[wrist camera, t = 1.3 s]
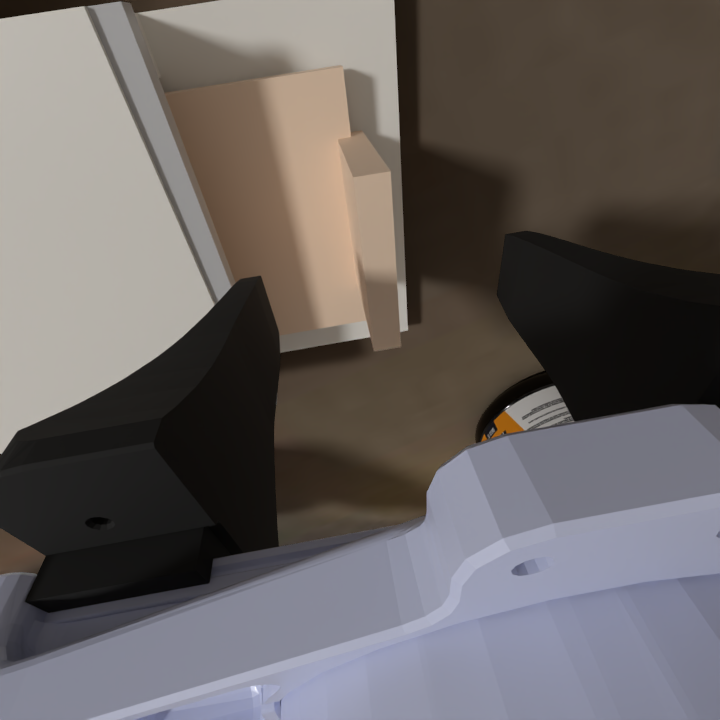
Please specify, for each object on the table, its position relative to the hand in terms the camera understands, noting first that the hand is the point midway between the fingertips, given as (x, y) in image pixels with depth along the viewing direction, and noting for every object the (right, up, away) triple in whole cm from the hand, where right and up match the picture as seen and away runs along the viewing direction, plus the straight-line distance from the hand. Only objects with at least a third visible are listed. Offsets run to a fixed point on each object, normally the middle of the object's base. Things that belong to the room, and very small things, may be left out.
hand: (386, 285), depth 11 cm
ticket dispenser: (-9, +4, +6) cm, 11 cm away
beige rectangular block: (-9, +3, +5) cm, 10 cm away
